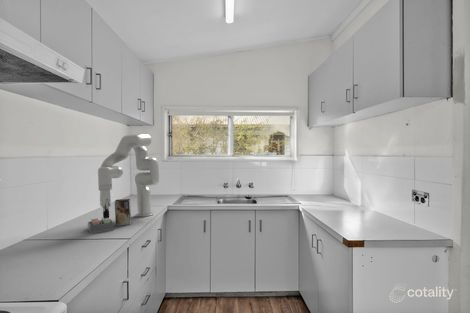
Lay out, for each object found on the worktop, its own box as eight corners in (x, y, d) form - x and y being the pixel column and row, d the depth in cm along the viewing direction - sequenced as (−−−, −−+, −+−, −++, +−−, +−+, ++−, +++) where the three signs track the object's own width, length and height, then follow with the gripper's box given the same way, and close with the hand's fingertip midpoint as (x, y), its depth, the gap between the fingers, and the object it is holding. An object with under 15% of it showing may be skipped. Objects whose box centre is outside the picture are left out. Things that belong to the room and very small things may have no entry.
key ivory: (101, 223, 195) (101, 217, 195) (107, 222, 197) (107, 216, 197) (102, 224, 192) (102, 218, 192) (108, 223, 194) (108, 217, 194)
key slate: (91, 224, 192) (90, 219, 192) (97, 223, 194) (97, 218, 194) (91, 225, 189) (91, 220, 189) (98, 225, 191) (98, 219, 191)
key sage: (103, 225, 190) (103, 219, 190) (109, 224, 192) (109, 218, 192) (104, 226, 187) (103, 220, 187) (110, 225, 189) (110, 219, 189)
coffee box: (131, 222, 207) (130, 198, 207) (130, 224, 201) (129, 200, 200) (117, 223, 205) (116, 199, 205) (115, 226, 199) (114, 200, 199)
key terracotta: (92, 226, 187) (92, 220, 187) (98, 225, 189) (98, 220, 188) (93, 227, 184) (92, 221, 184) (99, 226, 185) (99, 221, 185)
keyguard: (88, 229, 193) (87, 221, 192) (110, 225, 199) (110, 218, 199) (90, 233, 181) (90, 225, 181) (114, 230, 188) (113, 222, 188)
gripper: (96, 187, 193) (97, 216, 193) (100, 189, 180) (101, 220, 180) (109, 186, 197) (110, 215, 197) (114, 188, 184) (115, 219, 184)
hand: (106, 217), depth 189 cm, fingers closed
